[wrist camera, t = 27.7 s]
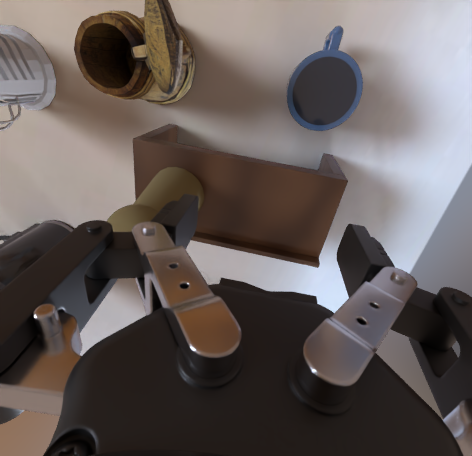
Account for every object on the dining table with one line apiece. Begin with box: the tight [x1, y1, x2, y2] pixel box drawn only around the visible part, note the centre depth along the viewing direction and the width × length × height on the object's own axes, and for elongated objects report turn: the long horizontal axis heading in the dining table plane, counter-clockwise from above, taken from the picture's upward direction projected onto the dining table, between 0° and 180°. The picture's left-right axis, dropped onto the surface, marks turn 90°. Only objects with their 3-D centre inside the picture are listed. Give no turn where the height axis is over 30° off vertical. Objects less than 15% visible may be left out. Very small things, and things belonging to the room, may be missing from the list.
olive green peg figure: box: [107, 167, 204, 232], centre depth 25 cm, size 6×6×11 cm
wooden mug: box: [74, 0, 195, 104], centre depth 25 cm, size 9×14×18 cm, turn 94°
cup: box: [287, 26, 363, 131], centre depth 27 cm, size 6×8×9 cm
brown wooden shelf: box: [133, 124, 348, 268], centre depth 33 cm, size 22×10×11 cm, turn 82°
